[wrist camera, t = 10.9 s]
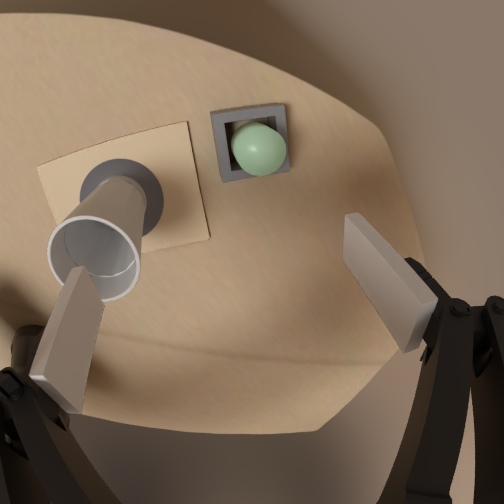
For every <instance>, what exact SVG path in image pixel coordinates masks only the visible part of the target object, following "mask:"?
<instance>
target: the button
mask: <svg viewBox="0 0 504 504" xmlns="http://www.w3.org/2000/svg"><path fill="white" fill-rule="evenodd" d="M231 150H232V153H233V155H234V156H235V158H236V160H237V161H238V163H239V165H240V166H241V168H242V169H243V170H245V171H246V172H247V173H249V174H252V175H255V176H265V175H269V174H271V173H273V172H275V171H276V170H277V169H278V168H279V167H280V166H281V165H282V164H283V162H284V159H285V156H286V145H285V142H284V139H283V138H282V136H281V135H280V134H279V133H278V132H276V131H275V130H273V129H271V128H270V127H268V126H266V125H264V124H262V123H259V122H249V123H246V124H244V125H242V126H240V127H239V128H238V129H237V130H236V131H235V133H234V134H233V136H232V139H231Z"/></svg>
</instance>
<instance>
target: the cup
mask: <svg viewBox="0 0 504 504" xmlns="http://www.w3.org/2000/svg"><path fill="white" fill-rule="evenodd" d="M146 206H147V199H146V195H145V192H144V190H143V188H142V187H141V186H140V184H139V183H138V182H136V181H135V180H134V179H132V178H130V177H127V176H122V175H115V176H111V177H108V178H106V179H105V180H103V181H102V182H101V183H100V184H99V185H98V186H97V188H96V189H95V190H93V191H92V192H91V193H90V194H89V195H88V196H87V197H86V198H85V199H84V200H83V201H82V202H81V203H80V204H79V205H78V206H77V207H76V208H75V209H74V210H73V211H72V212H71V213H70V214H69V215H68V216H67V217H66V218H65V219H64V220H63V221H62V222H61V223H60V224H59V225H58V226H57V227H56V228H55V230H54V231H53V232H52V234H51V236H50V239H49V242H48V247H47V256H48V262H49V265H50V268H51V270H52V272H53V274H54V276H55V277H56V279H57V280H58V281H59V282H60V284H61V285H62V286H64V284H65V282H66V280H67V278H68V275H69V273H70V271H71V269H72V268H75V267H80V266H85V268H86V271H87V273H88V275H89V277H90V279H91V281H92V283H93V285H94V287H95V289H96V290H97V292H98V294H99V296H100V298H101V300H102V302H108V301H113V300H117V299H119V298H121V297H123V296H125V295H126V294H128V293H129V292H130V291H131V290H132V289H133V287H134V286H135V284H136V283H137V281H138V278H139V275H140V266H141V246H142V232H143V223H144V214H145V210H146Z"/></svg>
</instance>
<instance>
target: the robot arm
mask: <svg viewBox="0 0 504 504" xmlns="http://www.w3.org/2000/svg"><path fill="white" fill-rule="evenodd" d="M342 260H343V262H344V263H345V265H346V266H347V267H348V269H349V270H350V272H351V273H352V275H353V276H354V278H355V279H356V281H357V282H358V284H359V285H360V286H361V288H362V289H363V291H364V292H365V294H366V295H367V297H368V298H369V300H370V302H371V303H372V305H373V306H374V308H375V309H376V311H377V312H378V314H379V315H380V317H381V318H382V320H383V322H384V323H385V325H386V326H387V328H388V330H389V331H390V333H391V334H392V336H393V338H394V339H395V341H396V342H397V344H398V346H399V347H400V349H401V351H402V352H403V354H404V353H407V352H409V351H412V350H414V349H417V348H418V347H419V346H420V343H421V341H422V339H424V341H425V342H426V344H427V346H426V348H425V350H424V352H423V354H422V356H421V358H420V361H422V360H423V363H422V367H421V372H420V376H419V381H418V385H417V389H416V393H415V398H414V401H413V405H412V409H411V412H410V416H409V419H408V423H407V426H406V430H405V433H404V436H403V439H402V442H401V445H400V448H399V451H398V453H397V457H396V459H395V462H394V464H393V467H392V470H391V472H390V475H389V478H388V480H387V482H386V485H385V487H384V489H383V492H382V494H381V496H380V498H379V500H378V502H377V503H376V504H452V499H451V497H450V495H449V491H450V486H451V483H452V480H453V476H454V473H455V469H456V465H457V461H458V457H459V452H460V448H461V443H462V439H463V434H464V428H465V422H466V417H467V410H468V403H469V395H470V387H471V395H472V405H473V416H474V431H475V487H474V502H473V503H474V504H504V299H503V298H501V297H499V296H490V297H489V298H488V299H487V301H486V303H485V305H484V306H473V307H470V305H469V304H468V303H467V302H465V301H464V300H461V299H458V298H451V297H450V296H449V295H448V294H447V293H446V291H445V290H444V289H443V288H442V287H441V286H440V285H439V284H438V282H437V281H436V280H435V279H434V278H432V276H431V275H430V273H429V272H427V270H426V269H425V268H424V267H423V266H422V265H421V264H420V263H419V262H417V261H416V260H414V259H412V258H410V257H409V258H405V259H403V258H402V257H401V256H400V255H399V253H398V252H397V251H396V250H395V249H394V248H393V247H392V246H391V245H390V244H389V243H388V242H387V241H386V240H385V239H384V238H383V237H382V235H381V234H380V233H379V232H378V231H377V230H376V229H375V228H374V227H373V226H372V225H371V224H370V223H369V222H368V221H367V220H366V219H365V218H364V217H363V216H362V215H361V214H360V213H359V212H358V213H352V214H346V215H345V225H344V244H343V259H342ZM104 307H105V306H104V304H103V302H102V300H101V298H100V296H99V294H98V292H97V290H96V289H95V287H94V285H93V283H92V281H91V279H90V277H89V275H88V273H87V271H86V268H85V266H80V267H75V268H72V269H71V271H70V273H69V275H68V278H67V280H66V282H65V284H64V286H63V288H62V290H61V293H60V295H59V297H58V299H57V301H56V304H55V306H54V308H53V311H52V313H51V316H50V318H49V320H48V323H47V325H46V328H44V327H40V326H26V327H23V328H21V329H19V330H18V331H17V332H16V334H15V336H14V339H13V341H12V345H11V354H12V357H11V367H6V368H4V369H2V370H1V371H0V504H51V503H52V504H122V503H121V502H120V500H119V499H118V498H117V497H116V496H115V494H114V493H113V492H112V491H111V489H110V488H109V487H108V486H107V484H106V483H105V482H104V480H103V479H102V478H101V477H100V475H99V474H98V472H97V471H96V469H95V468H94V467H93V465H92V464H91V462H90V461H89V459H88V458H87V456H86V455H85V453H84V452H83V450H82V449H81V447H80V446H79V444H78V442H77V441H76V439H75V437H74V436H73V434H72V433H71V431H70V429H69V422H70V415H71V413H80V414H81V413H82V407H83V401H84V395H85V389H86V384H87V379H88V373H89V369H90V364H91V359H92V355H93V350H94V346H95V342H96V337H97V333H98V329H99V326H100V322H101V318H102V314H103V311H104Z"/></svg>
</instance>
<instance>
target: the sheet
mask: <svg viewBox="0 0 504 504" xmlns="http://www.w3.org/2000/svg"><path fill="white" fill-rule="evenodd" d="M37 171H38V174H39V177H40V180H41V183H42V186H43V189H44V192H45V195H46V197H47V200H48V203H49V206H50V208H51V211H52V213H53V216H54V219H55V221H56V224H57V226H58V225H59V224H60V223H61V222H62V221H63V220H64V219H65V218H66V217H67V216H68V215H69V214H70V213H71V212H72V211H73V210H74V209H75V208H76V207H77V206H78V205H79V204H80V203H81V202H82V201H83V200H84V199H85V198H86V197H87V196H88V195H89V194H90V193H91V192H92V191H93V190H95V189H96V188H97V186H98V185H99V184H100V183H101V182H102V181H103V180H105V179H106V178H108V177H111V176H115V175H122V176H127V177H130V178H132V179H134V180H135V181H136V182H138V183H139V184H140V186H141V187H142V188H143V190H144V192H145V195H146V199H147V206H146V210H145V214H144V223H143V232H142V246H141V253H145V252H150V251H154V250H159V249H164V248H168V247H173V246H178V245H182V244H187V243H192V242H197V241H201V240H206V239H210V237H209V232H208V227H207V223H206V218H205V213H204V208H203V204H202V199H201V194H200V189H199V184H198V179H197V174H196V169H195V164H194V158H193V153H192V148H191V142H190V137H189V131H188V126H187V121H184V122H180V123H175V124H171V125H166V126H162V127H158V128H154V129H150V130H146V131H142V132H138V133H134V134H131V135H127V136H123V137H120V138H116V139H113V140H110V141H106V142H103V143H100V144H97V145H94V146H91V147H88V148H85V149H82V150H79V151H76V152H73V153H70V154H68V155H65V156H62V157H60V158H57V159H54V160H52V161H49V162H47V163H44V164H42V165H39V166H37Z"/></svg>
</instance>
